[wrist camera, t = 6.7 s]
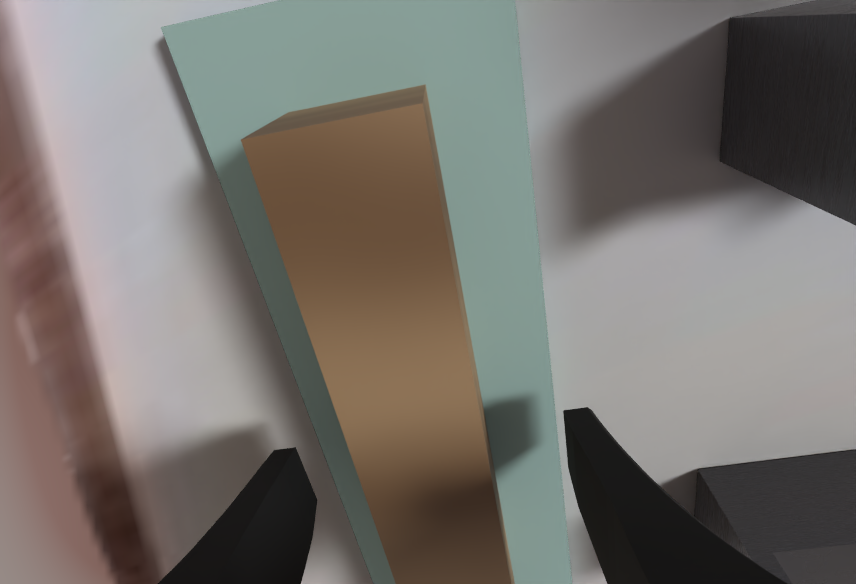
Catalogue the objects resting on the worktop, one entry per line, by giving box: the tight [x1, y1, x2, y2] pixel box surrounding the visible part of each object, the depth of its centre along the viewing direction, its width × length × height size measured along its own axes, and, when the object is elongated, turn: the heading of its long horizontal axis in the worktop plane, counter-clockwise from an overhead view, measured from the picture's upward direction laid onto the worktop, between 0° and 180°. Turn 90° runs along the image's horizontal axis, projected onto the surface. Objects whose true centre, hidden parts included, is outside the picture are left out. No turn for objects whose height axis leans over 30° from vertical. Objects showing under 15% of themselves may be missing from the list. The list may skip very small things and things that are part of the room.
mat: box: [161, 0, 572, 584], centre depth 15 cm, size 22×7×1 cm, turn 11°
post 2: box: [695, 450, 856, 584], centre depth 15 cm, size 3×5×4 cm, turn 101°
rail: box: [241, 84, 515, 584], centre depth 13 cm, size 18×3×3 cm, turn 11°
